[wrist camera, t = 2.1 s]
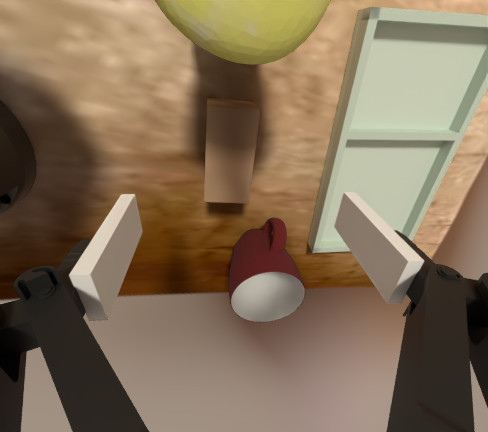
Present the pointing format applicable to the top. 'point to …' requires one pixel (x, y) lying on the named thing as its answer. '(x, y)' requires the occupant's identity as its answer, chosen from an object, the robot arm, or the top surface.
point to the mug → (264, 275)
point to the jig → (400, 115)
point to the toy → (246, 26)
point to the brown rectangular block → (230, 149)
